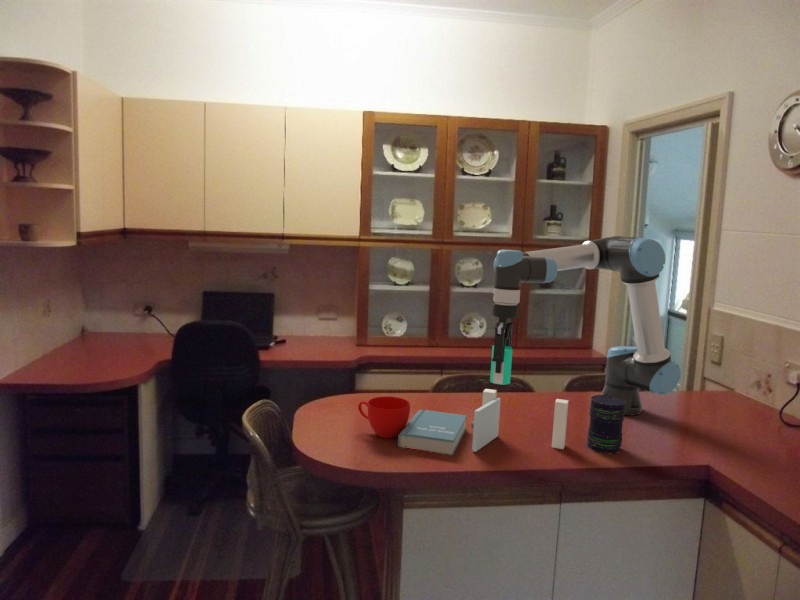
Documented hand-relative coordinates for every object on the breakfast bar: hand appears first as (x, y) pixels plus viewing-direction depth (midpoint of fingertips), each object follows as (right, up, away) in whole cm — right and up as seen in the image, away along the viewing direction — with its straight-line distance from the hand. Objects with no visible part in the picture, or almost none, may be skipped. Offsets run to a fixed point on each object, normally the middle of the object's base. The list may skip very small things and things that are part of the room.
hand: (500, 380), depth 177 cm
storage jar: (+31, -21, +3) cm, 38 cm away
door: (-5, -19, +2) cm, 19 cm away
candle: (0, -1, 0) cm, 1 cm away
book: (-20, -19, +5) cm, 28 cm away
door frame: (+8, -19, +6) cm, 21 cm away
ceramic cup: (-35, -17, +7) cm, 40 cm away
